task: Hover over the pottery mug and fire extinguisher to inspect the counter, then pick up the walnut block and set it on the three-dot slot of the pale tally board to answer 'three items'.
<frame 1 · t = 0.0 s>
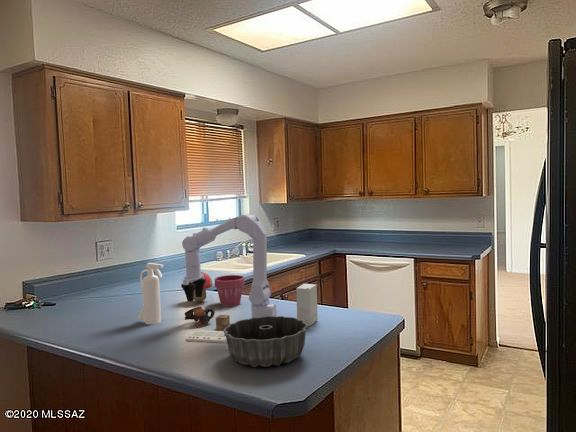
hand: (194, 299, 182), 10 cm above the countertop, fingers open, 7 cm apart
tally board: (210, 337, 164), on the countertop
walnut block: (223, 328, 174), on the countertop
decorative mushroom: (199, 302, 220), on the countertop
skincare box: (307, 323, 177), on the countertop
pottery mug: (200, 324, 181), on the countertop
fire extinguisher: (151, 322, 187), on the countertop
bundt pan: (266, 358, 141), on the countertop
plant pot: (230, 304, 213), on the countertop
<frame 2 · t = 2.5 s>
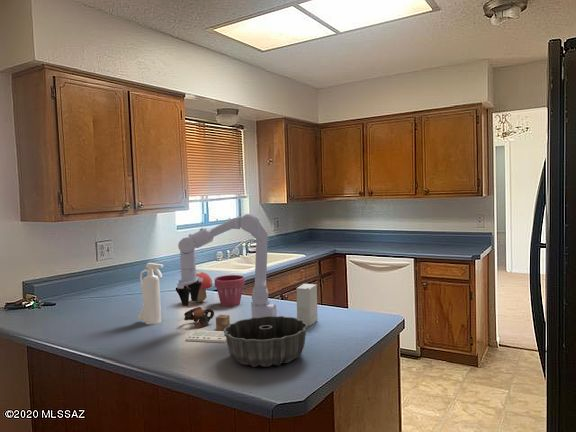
hand: (189, 303, 173), 10 cm above the countertop, fingers open, 7 cm apart
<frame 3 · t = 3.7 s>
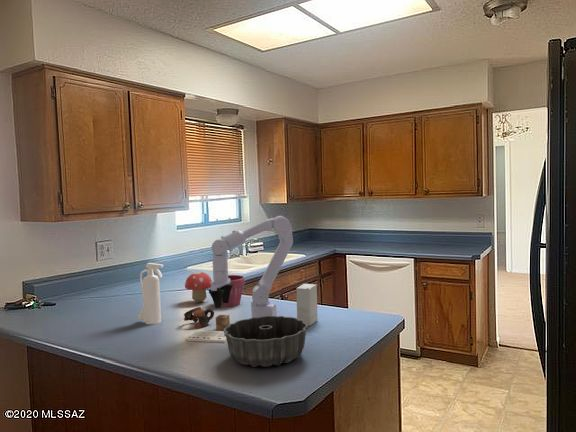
hand: (222, 305, 173), 9 cm above the countertop, fingers open, 7 cm apart
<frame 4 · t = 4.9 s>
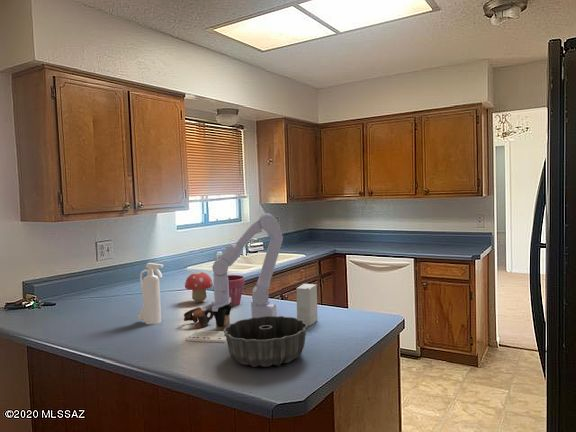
hand: (222, 325, 174), 1 cm above the countertop, fingers closed on walnut block, 4 cm apart
walnut block: (223, 328, 174), on the countertop, touching gripper
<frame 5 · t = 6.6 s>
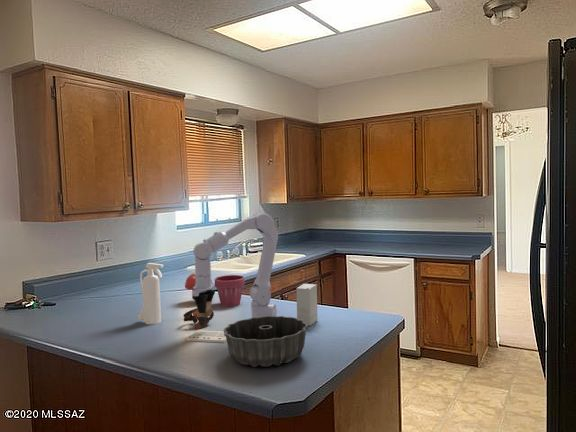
hand: (204, 311, 168), 9 cm above the countertop, fingers closed on walnut block, 4 cm apart
walnut block: (204, 315, 168), point 7 cm above the countertop, touching gripper
when the fingers open (4 cm above the countertop, at t = 8.1 s): walnut block drops 1 cm, resting on tally board.
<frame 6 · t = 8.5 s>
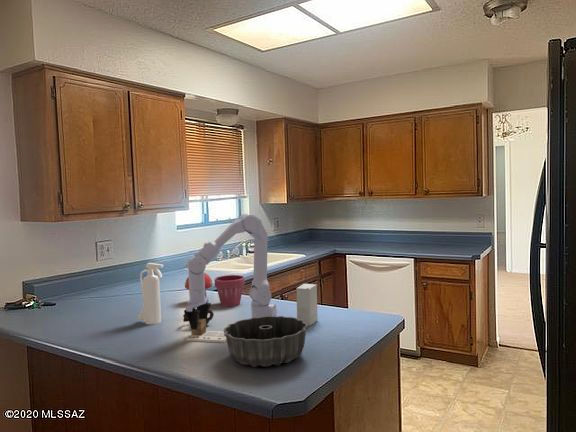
hand: (198, 325, 166), 4 cm above the countertop, fingers open, 7 cm apart
walnut block: (198, 333, 166), point 1 cm above the countertop, touching tally board
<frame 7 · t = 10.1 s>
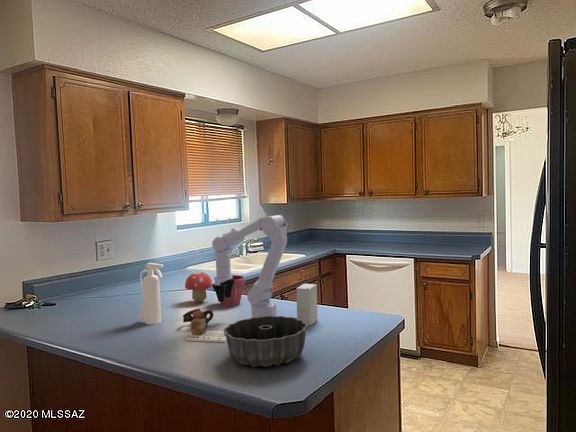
hand: (224, 299, 182), 9 cm above the countertop, fingers open, 7 cm apart
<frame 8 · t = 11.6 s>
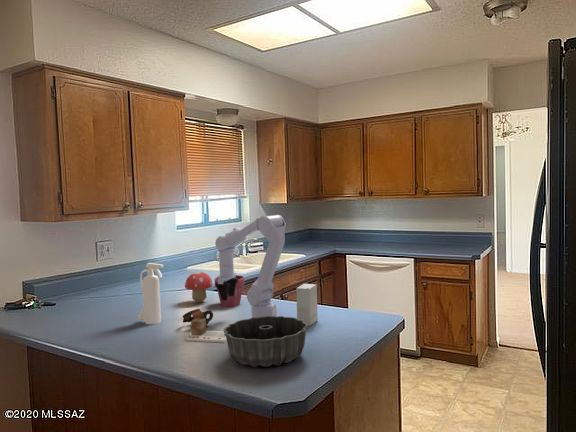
hand: (227, 298, 184), 9 cm above the countertop, fingers open, 7 cm apart
at the end: walnut block 0.1 cm from the target spot on the tally board, point 0.9 cm above the tally board's base; walnut block tilted 0°; the gripper is holding nothing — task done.
